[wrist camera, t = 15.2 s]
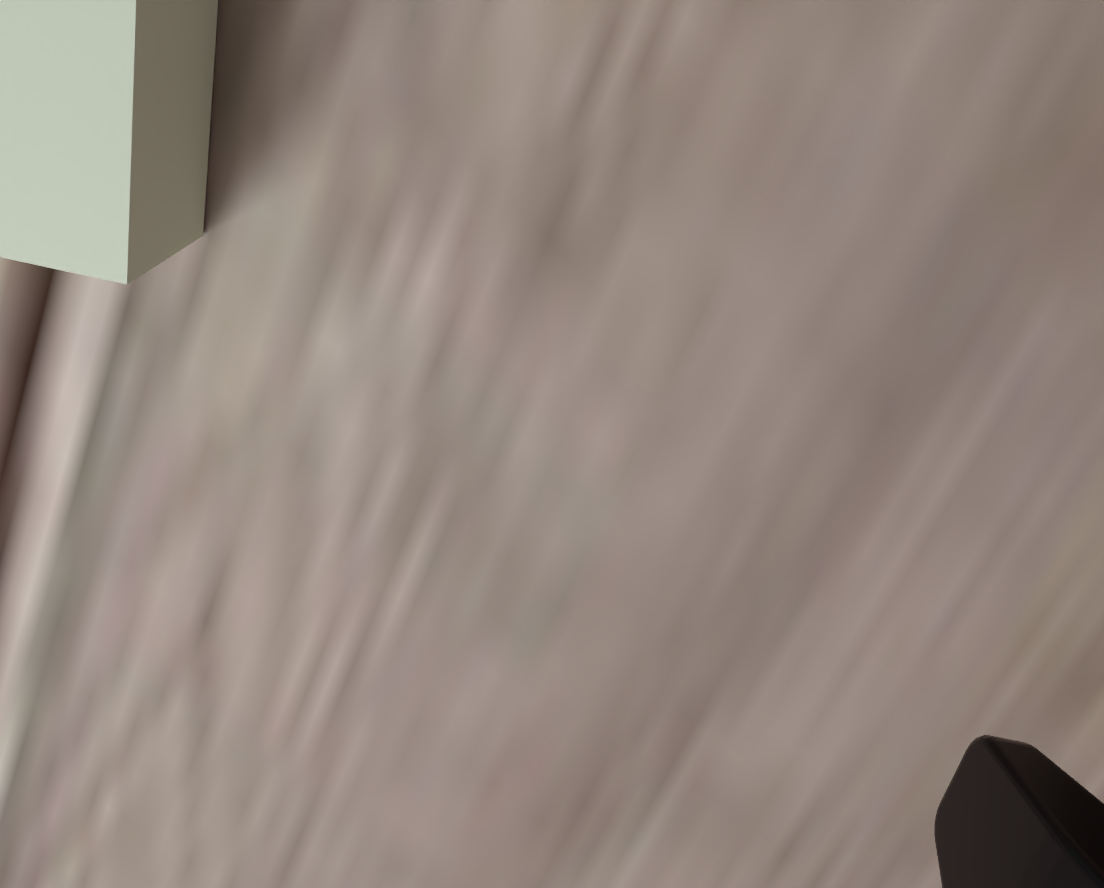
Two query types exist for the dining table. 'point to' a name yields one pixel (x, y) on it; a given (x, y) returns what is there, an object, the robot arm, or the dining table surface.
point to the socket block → (104, 131)
